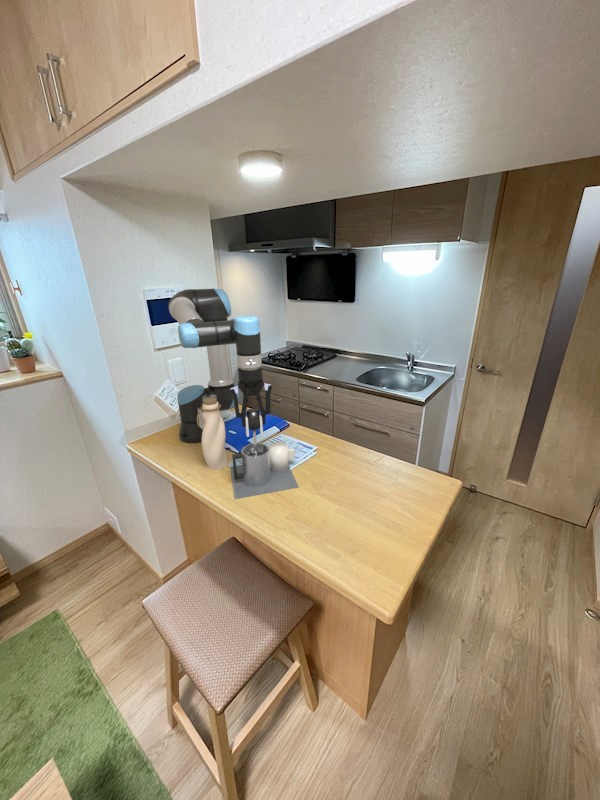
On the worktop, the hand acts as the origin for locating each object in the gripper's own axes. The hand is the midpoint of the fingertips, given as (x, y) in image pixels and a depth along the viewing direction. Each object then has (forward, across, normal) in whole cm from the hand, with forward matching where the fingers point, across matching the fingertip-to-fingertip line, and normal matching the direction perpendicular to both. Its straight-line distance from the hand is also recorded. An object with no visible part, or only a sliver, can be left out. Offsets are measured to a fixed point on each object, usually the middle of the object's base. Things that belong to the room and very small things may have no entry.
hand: (254, 433), depth 107 cm
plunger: (+11, 0, 0) cm, 11 cm away
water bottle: (+20, -14, +14) cm, 28 cm away
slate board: (+19, +2, +1) cm, 19 cm away
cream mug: (+18, +10, +5) cm, 22 cm away
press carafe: (+18, -2, 0) cm, 18 cm away
